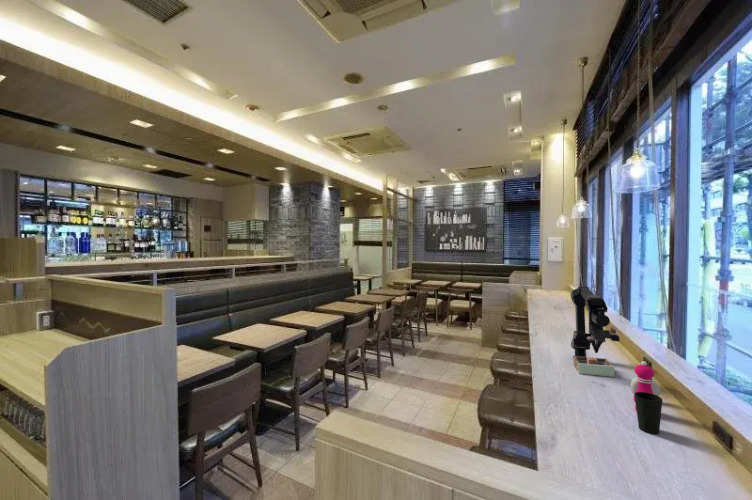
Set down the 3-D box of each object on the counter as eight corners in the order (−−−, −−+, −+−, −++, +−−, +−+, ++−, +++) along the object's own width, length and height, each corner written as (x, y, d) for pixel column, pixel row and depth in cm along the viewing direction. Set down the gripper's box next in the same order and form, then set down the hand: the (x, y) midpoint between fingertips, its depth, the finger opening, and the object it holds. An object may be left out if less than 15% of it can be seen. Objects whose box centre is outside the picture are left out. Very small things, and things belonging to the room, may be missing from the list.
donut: (659, 400, 137) (659, 377, 137) (661, 404, 134) (661, 380, 134) (629, 396, 142) (629, 373, 142) (631, 399, 139) (630, 375, 139)
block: (588, 368, 172) (588, 359, 172) (586, 366, 175) (586, 357, 175) (597, 369, 170) (597, 360, 170) (595, 367, 174) (595, 357, 174)
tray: (574, 365, 179) (573, 356, 179) (607, 368, 174) (606, 359, 174) (578, 373, 168) (578, 363, 168) (614, 376, 163) (614, 366, 163)
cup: (665, 438, 111) (664, 403, 111) (636, 432, 115) (636, 398, 115) (660, 427, 117) (659, 394, 117) (633, 422, 121) (632, 390, 121)
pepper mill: (651, 418, 124) (650, 365, 124) (629, 410, 130) (628, 360, 130) (661, 413, 127) (659, 362, 127) (639, 405, 133) (638, 357, 133)
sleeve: (573, 365, 180) (573, 356, 180) (606, 368, 175) (606, 358, 175) (578, 373, 169) (578, 363, 169) (613, 376, 164) (613, 366, 164)
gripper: (577, 324, 161) (578, 356, 160) (623, 326, 154) (624, 359, 154) (573, 319, 171) (573, 349, 171) (615, 321, 164) (616, 352, 164)
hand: (596, 352), depth 165 cm, fingers closed
